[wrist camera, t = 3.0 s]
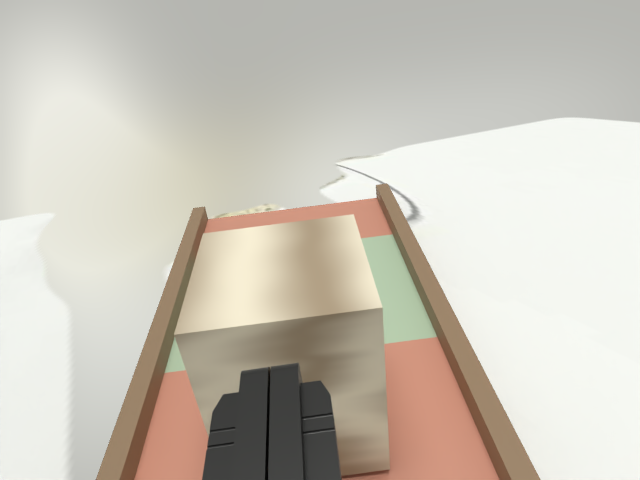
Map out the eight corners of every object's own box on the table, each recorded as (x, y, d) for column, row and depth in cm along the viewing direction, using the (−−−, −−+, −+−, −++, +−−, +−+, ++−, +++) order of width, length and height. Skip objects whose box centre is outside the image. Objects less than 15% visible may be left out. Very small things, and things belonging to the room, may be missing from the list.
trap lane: (82, 587, 21) (65, 563, 20) (197, 225, 50) (193, 208, 49) (543, 523, 21) (549, 496, 20) (388, 200, 50) (387, 183, 49)
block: (226, 491, 23) (173, 334, 18) (238, 370, 30) (202, 233, 25) (390, 469, 23) (382, 307, 18) (364, 354, 30) (353, 214, 25)
